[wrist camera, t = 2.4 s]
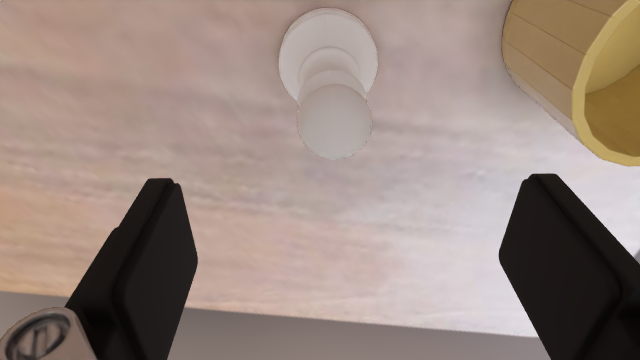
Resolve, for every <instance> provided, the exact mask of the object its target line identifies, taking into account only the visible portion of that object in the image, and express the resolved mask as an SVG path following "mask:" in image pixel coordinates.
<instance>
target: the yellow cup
mask: <svg viewBox="0 0 640 360" xmlns="http://www.w3.org/2000/svg"><path fill="white" fill-rule="evenodd" d="M502 52H503V59H504V62H505V66H506V68H507V71H508V73H509V75H510V76H511V78H512V79H513V80H514V82H515V83H516V84H517V85H518V87H519V88H521V89H522V90H523V91H524V92H525V93H526V94H527V95H528V96H529V97H530V98H532V99H533V100H534V101H535V102H536V103H537V104H538V105H539V106H540V107H542V108H543V109H544V110H545V111H546V112H547V113H548V114H549V115H550V116H552V117H553V118H554V119H555V120H556V121H557V122H558V123H559V124H560V125H562V126H563V127H564V128H565V129H566V130H567V131H568V132H569V133H570V134H572V135H573V136H574V137H575V138H576V139H577V140H578V141H579V142H580V143H582V144H583V145H584V146H585V147H586V148H588V149H589V150H590V151H591V152H592V153H594V154H595V155H596V156H597V157H599V158H601V159H603V160H606V161H610V162H613V163H617V164H620V165H624V166H640V0H513V2H512V4H511V6H510V9H509V11H508V14H507V17H506V20H505V24H504V29H503V36H502Z"/></svg>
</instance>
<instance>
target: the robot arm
mask: <svg viewBox="0 0 640 360" xmlns="http://www.w3.org/2000/svg"><path fill="white" fill-rule="evenodd" d="M499 261H500V264H501V266H502V268H503V270H504V271H505V273H506V275H507V277H508V279H509V281H510V283H511V285H512V287H513V288H514V290H515V292H516V294H517V296H518V298H519V300H520V302H521V304H522V305H523V307H524V309H525V311H526V313H527V315H528V317H529V319H530V321H531V322H532V324H533V326H534V328H535V330H536V332H537V334H538V336H539V338H540V339H541V341H542V343H543V345H544V347H545V349H546V351H547V353H548V355H549V356H550V358H551V360H640V264H639V263H638V262H637V261H636V260H635V259H634V258H633V256H632V255H631V254H630V253H629V252H628V251H627V250H626V249H625V248H624V247H623V246H622V245H621V243H620V242H619V241H618V240H617V239H616V238H615V237H614V236H613V235H612V234H611V233H610V232H609V230H608V229H607V228H606V227H605V226H604V225H603V224H602V223H601V222H600V221H599V220H598V218H597V217H596V216H595V215H594V214H593V213H592V212H591V211H590V210H589V209H588V208H587V207H586V205H585V204H584V203H583V202H582V201H581V200H580V199H579V198H578V197H577V196H576V195H575V194H574V192H573V191H572V190H571V189H570V188H569V187H568V186H567V185H566V184H565V183H564V182H563V181H562V179H561V178H560V177H559V176H558V175H556V174H532V175H530V176H529V178H528V179H525V180H524V181H523V182H522V184H521V187H520V190H519V193H518V196H517V199H516V202H515V205H514V208H513V211H512V214H511V217H510V220H509V223H508V226H507V229H506V232H505V235H504V238H503V241H502V244H501V247H500V250H499ZM197 263H198V257H197V252H196V248H195V243H194V239H193V235H192V231H191V227H190V223H189V219H188V215H187V210H186V206H185V202H184V198H183V194H182V190H181V186H180V185H179V184H178V183H174V182H173V180H172V179H171V178H150V179H148V180H147V181H146V183H145V184H144V186H143V188H142V189H141V191H140V193H139V194H138V196H137V197H136V199H135V201H134V202H133V204H132V206H131V207H130V209H129V210H128V212H127V214H126V215H125V217H124V219H123V220H122V222H121V223H120V225H119V227H117V228H115V229H114V230H113V231H112V232H111V233H110V235H109V237H108V238H107V240H106V241H105V243H104V245H103V246H102V248H101V249H100V251H99V253H98V254H97V256H96V257H95V259H94V261H93V262H92V264H91V265H90V267H89V269H88V270H87V272H86V273H85V275H84V276H83V278H82V280H81V281H80V283H79V284H78V286H77V288H76V289H75V291H74V292H73V294H72V296H71V297H70V299H69V300H68V302H67V304H66V305H65V307H52V308H46V309H42V310H39V311H37V312H34V313H31V314H30V315H28V316H26V317H24V318H23V319H21V320H19V321H18V322H17V323H16V324H14V325H13V326H12V327H11V328H9V329H8V330H7V332H6V333H5V334H4V335H3V337H2V338H1V339H0V360H167V358H168V355H169V352H170V348H171V345H172V342H173V339H174V336H175V333H176V330H177V327H178V324H179V321H180V318H181V315H182V312H183V309H184V306H185V302H186V299H187V296H188V293H189V290H190V287H191V284H192V281H193V278H194V275H195V272H196V269H197Z"/></svg>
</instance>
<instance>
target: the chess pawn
mask: <svg viewBox="0 0 640 360" xmlns="http://www.w3.org/2000/svg"><path fill="white" fill-rule="evenodd" d="M377 68H378V56H377V49H376V46H375V44H374V41H373V39H372V37H371V35H370V32H369V30H368V29H367V28H366V27H365V25H364V24H363V23H362V21H361V20H359V19H358V18H357V17H355V16H354V15H352V14H351V13H349V12H346V11H344V10H341V9H338V8H320V9H316V10H311V11H310V12H308V13H306V14H304V15H302V16H300V17H299V18H298V19H297V20H296V21H295V22H294V23H293V24H292V25H291V26H290V27H289V29H288V31H287V32H286V34H285V36H284V38H283V41H282V45H281V48H280V54H279V73H280V77H281V80H282V83H283V85H284V86H285V88H286V90H287V92H288V93H289V94H290V95H291V96H292V97H293V98H294V99H295V100H296V101H297V102H298V110H299V112H298V115H297V128H298V132H299V136H300V138H301V140H302V141H303V143H304V145H305V146H306V147H307V148H308V149H309V150H310V151H311V152H312V153H314V154H316V155H318V156H319V157H322V158H326V159H334V160H337V159H343V158H347V157H349V156H351V155H353V154H355V153H356V152H357V151H359V150H360V149H361V148H362V147H363V146H364V144H365V143H366V142H367V140H368V137H369V135H370V133H371V127H372V116H371V110H370V108H369V106H368V104H367V95H366V93H367V92H368V91H369V89H370V88H371V87H372V84H373V82H374V80H375V77H376V74H377Z"/></svg>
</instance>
